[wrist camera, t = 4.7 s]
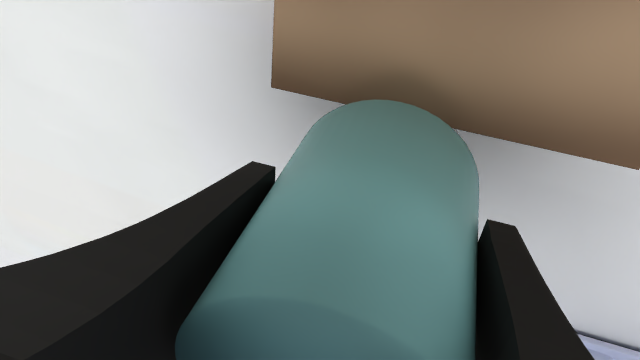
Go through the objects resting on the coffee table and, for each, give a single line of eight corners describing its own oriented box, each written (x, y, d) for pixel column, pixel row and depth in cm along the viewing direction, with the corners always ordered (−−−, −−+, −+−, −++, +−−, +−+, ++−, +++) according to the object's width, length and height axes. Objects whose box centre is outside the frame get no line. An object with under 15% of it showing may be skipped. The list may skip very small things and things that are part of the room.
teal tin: (449, 270, 14) (428, 516, 9) (291, 226, 14) (186, 425, 9) (506, 125, 11) (526, 369, 6) (303, 80, 12) (159, 256, 6)
